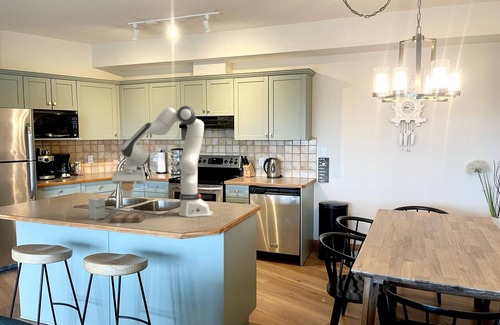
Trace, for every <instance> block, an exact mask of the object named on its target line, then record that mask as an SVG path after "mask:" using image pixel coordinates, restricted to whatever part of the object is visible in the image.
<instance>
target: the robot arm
mask: <svg viewBox="0 0 500 325" xmlns="http://www.w3.org/2000/svg"><path fill="white" fill-rule="evenodd" d="M177 122H180V123H182V124H185V125H186V127H187V129H186V135H185V140H184V145H183V148H182V152H181V157H180V161H179V169H180V194H179V201H180V206H179V212H178V216H181V217H186V218H198V217H211V216H212V215H213V211H212V210H210V207H209V204H208V203H207V202H206V201H204V200H203V199H202V195H201V193H199V190H198V176H199V175H198V173H199V172H198V161H199V158H200V153H201V149H202V144H203V139H204V132H205V123H204V121H202V119H198V118H197V117H196V114H195V112H194V110H193V108H192V107H191V106H188V105H183V106H181V107H179V108H178V109H175V108H173V107H169V106H167V107H166V108H164V109H163V110H162V111H161V112H160V113H159V115H158V116H157V117H156V119H155V120H153V121H152V122H147V123H146V124H144V125H143V126H142V127H140V128H139V130H137V131H136V132H135V134H133V136H132V137H131V138H129V139H128V140H127V141H126V142H124V143H123V144H122V146H121V148H120V149H121V153H122V155H123V157H125V162H124V166H123V170H116V171H115V172H113V174H112V179H111V182H112V183H113V184H112V185H120V190H123V186H122V184H123V183H132V186H131V189H132V190H134V189H135V187H136V186H137V185H143V184H145V183H146V175H145V172H146V171H145V169H144V167H141V166H144V165H146V164H147V163H148V162H149V160H150V158H151V157H150V156H151V155H150V151H148V150H147V149H145V148H143V147H141V146H140V145H138V143H139V142H140V141H141V140H142V139H143V138H144V137H145V136H146V135H155V136H165V135H167V134H168V133H169V131H170V130H171V128H173V126H174V125H175V124H176V123H177Z"/></svg>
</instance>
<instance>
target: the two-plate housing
mask: <svg viewBox="0 0 500 325" xmlns="http://www.w3.org/2000/svg"><path fill="white" fill-rule="evenodd" d="M132 185H133V184H132V183H123V184H122V186H123V189H122V199H131V198H133V189H131V186H132Z"/></svg>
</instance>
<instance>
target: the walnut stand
mask: <svg viewBox="0 0 500 325" xmlns="http://www.w3.org/2000/svg"><path fill="white" fill-rule="evenodd" d="M145 218H146V214H144V212H118V213H116V214H115V215H114V216H112V217H111V219H110V220H109V224H140V223H142V222H143V221H144V219H145Z"/></svg>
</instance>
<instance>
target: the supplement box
mask: <svg viewBox="0 0 500 325" xmlns="http://www.w3.org/2000/svg"><path fill="white" fill-rule="evenodd" d="M88 218H89V219H90V220H99V219H105V218H106V198H104V197H95V198H94V197H92V198H88Z"/></svg>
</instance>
